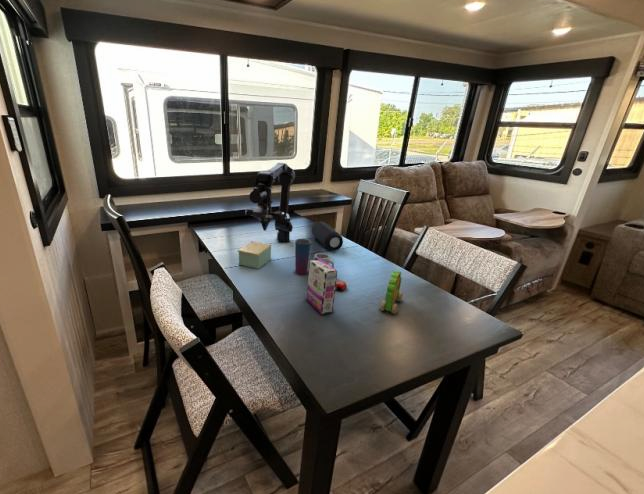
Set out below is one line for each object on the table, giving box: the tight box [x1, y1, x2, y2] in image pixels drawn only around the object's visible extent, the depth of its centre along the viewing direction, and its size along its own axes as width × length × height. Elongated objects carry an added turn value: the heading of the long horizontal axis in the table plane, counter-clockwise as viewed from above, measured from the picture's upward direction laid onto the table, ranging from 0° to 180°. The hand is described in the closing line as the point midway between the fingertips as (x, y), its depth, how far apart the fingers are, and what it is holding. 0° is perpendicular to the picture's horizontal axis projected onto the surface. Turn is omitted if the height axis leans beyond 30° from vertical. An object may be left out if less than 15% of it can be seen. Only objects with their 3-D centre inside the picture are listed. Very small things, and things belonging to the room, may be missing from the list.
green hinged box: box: [238, 246, 272, 270], centre depth 148 cm, size 13×11×7 cm
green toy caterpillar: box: [379, 269, 404, 315], centre depth 112 cm, size 16×5×15 cm, turn 148°
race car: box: [335, 278, 348, 292], centre depth 128 cm, size 13×5×4 cm, turn 63°
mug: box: [313, 252, 335, 269], centre depth 141 cm, size 10×7×7 cm
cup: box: [294, 238, 312, 276], centre depth 137 cm, size 7×7×15 cm
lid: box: [237, 240, 272, 256], centre depth 147 cm, size 13×11×1 cm
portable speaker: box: [311, 221, 344, 251], centre depth 173 cm, size 26×10×10 cm, turn 13°
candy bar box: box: [306, 259, 338, 315], centre depth 111 cm, size 11×5×16 cm, turn 23°
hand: (264, 230), depth 153 cm, fingers closed
